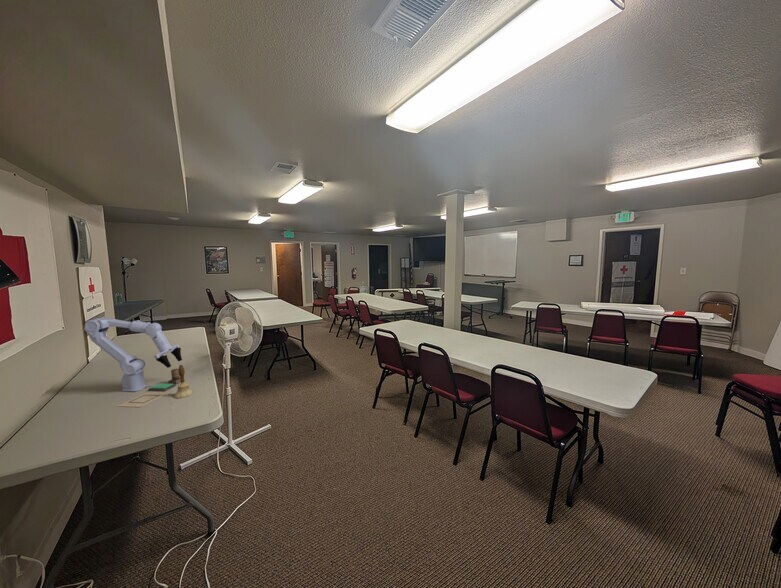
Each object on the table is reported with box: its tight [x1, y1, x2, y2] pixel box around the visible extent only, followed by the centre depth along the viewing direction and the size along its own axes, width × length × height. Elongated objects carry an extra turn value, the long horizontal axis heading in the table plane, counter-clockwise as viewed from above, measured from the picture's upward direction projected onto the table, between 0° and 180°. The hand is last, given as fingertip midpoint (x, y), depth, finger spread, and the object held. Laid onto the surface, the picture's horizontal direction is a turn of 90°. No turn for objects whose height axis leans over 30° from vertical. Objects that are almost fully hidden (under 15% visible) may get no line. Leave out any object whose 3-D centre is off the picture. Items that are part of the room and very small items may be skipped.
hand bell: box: [173, 364, 194, 399], centre depth 152 cm, size 8×8×16 cm
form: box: [117, 391, 170, 408], centre depth 149 cm, size 13×16×1 cm
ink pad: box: [147, 382, 177, 392], centre depth 162 cm, size 10×7×2 cm
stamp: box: [168, 368, 181, 385], centre depth 170 cm, size 5×5×8 cm
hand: (175, 363), depth 167 cm, fingers open, 7 cm apart
